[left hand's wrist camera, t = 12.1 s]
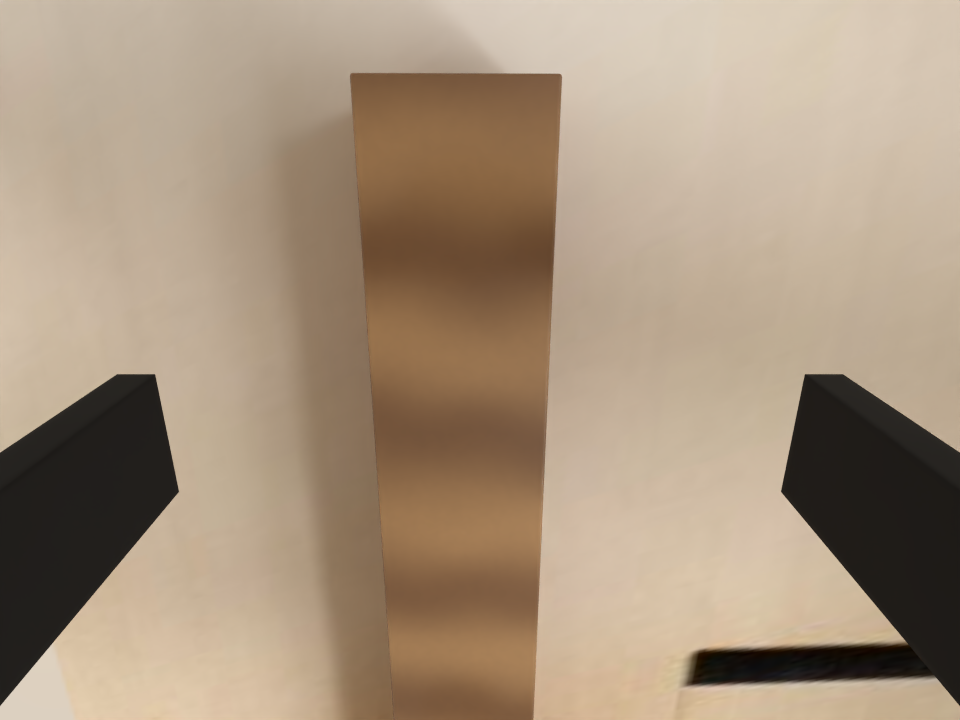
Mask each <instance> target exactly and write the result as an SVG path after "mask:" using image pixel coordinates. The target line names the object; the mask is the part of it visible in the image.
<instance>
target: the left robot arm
mask: <svg viewBox="0 0 960 720" xmlns="http://www.w3.org/2000/svg"><path fill="white" fill-rule="evenodd" d="M178 492H179V490H178V485H177V480H176V475H175V470H174V465H173V460H172V455H171V450H170V446H169V441H168V436H167V431H166V426H165V421H164V416H163V411H162V406H161V401H160V396H159V391H158V387H157V382H156V377H155V374H117V375H116V376H114V377H113V378H111V379H110V380H108V381H107V382H105V383H104V384H102V385H101V386H99V387H98V388H96V389H95V390H93V391H92V392H90V393H89V394H87V395H86V396H84V397H83V398H81V399H80V400H78V401H77V402H75V403H74V404H72V405H71V406H69V407H68V408H66V409H65V410H63V411H62V412H60V413H59V414H57V415H56V416H54V417H53V418H51V419H50V420H48V421H47V422H45V423H44V424H42V425H41V426H39V427H38V428H36V429H35V430H33V431H32V432H30V433H29V434H27V435H26V436H24V437H23V438H21V439H20V440H19V441H17V442H16V443H14V444H13V445H11V446H10V447H8V448H7V449H5V450H4V451H2V452H1V453H0V705H1V704H2V703H3V702H4V701H5V699H6V698H7V697H8V696H9V695H10V693H11V692H12V691H13V690H14V689H15V687H16V686H17V685H18V684H19V683H20V681H21V680H22V679H23V678H24V677H25V675H26V674H27V673H28V672H29V671H30V669H31V668H32V667H33V666H34V665H35V663H36V662H37V661H38V660H39V659H40V657H41V656H42V655H43V654H44V653H45V651H46V650H47V649H48V648H49V647H50V645H51V644H52V643H53V642H54V641H55V639H56V638H57V637H58V636H59V635H60V634H61V632H62V631H63V630H64V629H65V628H66V626H67V625H68V624H69V623H70V622H71V620H72V619H73V618H74V617H75V616H76V614H77V613H78V612H79V611H80V610H81V608H82V607H83V606H84V605H85V604H86V602H87V601H88V600H89V599H90V598H91V596H92V595H93V594H94V593H95V592H96V590H97V589H98V588H99V587H100V586H101V584H102V583H103V582H104V581H105V580H106V578H107V577H108V576H109V575H110V574H111V572H112V571H113V570H114V569H115V568H116V566H117V565H118V564H119V563H120V562H121V560H122V559H123V558H124V557H125V556H126V554H127V553H128V552H129V551H130V550H131V549H132V547H133V546H134V545H135V544H136V543H137V541H138V540H139V539H140V538H141V537H142V535H143V534H144V533H145V532H146V531H147V529H148V528H149V527H150V526H151V525H152V523H153V522H154V521H155V520H156V519H157V517H158V516H159V515H160V514H161V513H162V511H163V510H164V509H165V508H166V507H167V505H168V504H169V503H170V502H171V501H172V499H173V498H174V497H175V496H176V495H177V493H178ZM781 492H782V493H783V495H784V496H785V497H786V498H787V499H788V501H789V502H790V503H791V504H792V505H793V507H794V508H795V509H796V510H797V511H798V513H799V514H800V515H801V516H802V517H803V519H804V520H805V521H806V522H807V523H808V525H809V526H810V527H811V528H812V529H813V531H814V532H815V533H816V534H817V535H818V537H819V538H820V539H821V540H822V541H823V543H824V544H825V545H826V546H827V547H828V549H829V550H830V551H831V552H832V553H833V554H834V556H835V557H836V558H837V559H838V560H839V562H840V563H841V564H842V565H843V566H844V568H845V569H846V570H847V571H848V572H849V574H850V575H851V576H852V577H853V578H854V580H855V581H856V582H857V583H858V584H859V586H860V587H861V588H862V589H863V590H864V592H865V593H866V594H867V595H868V596H869V598H870V599H871V600H872V601H873V602H874V604H875V605H876V606H877V607H878V608H879V610H880V611H881V612H882V613H883V614H884V616H885V617H886V618H887V619H888V620H889V622H890V623H891V624H892V625H893V626H894V628H895V629H896V630H897V631H898V632H899V634H900V635H901V636H902V637H903V638H904V639H905V641H906V642H907V643H908V644H909V645H910V647H911V648H912V649H913V650H914V651H915V653H916V654H917V655H918V656H919V657H920V659H921V660H922V661H923V662H924V663H925V665H926V666H927V667H928V668H929V669H930V671H931V672H932V673H933V674H934V675H935V677H936V678H937V679H938V680H939V681H940V683H941V684H942V685H943V686H944V687H945V689H946V690H947V691H948V692H949V693H950V695H951V696H952V697H953V698H954V699H955V701H956V702H957V703H958V704H959V705H960V453H959V452H958V451H956V450H955V449H953V448H952V447H950V446H949V445H947V444H946V443H944V442H943V441H941V440H940V439H939V438H937V437H936V436H934V435H933V434H931V433H930V432H928V431H927V430H925V429H924V428H922V427H921V426H919V425H918V424H916V423H915V422H913V421H912V420H910V419H909V418H907V417H906V416H904V415H903V414H901V413H900V412H898V411H897V410H895V409H894V408H892V407H891V406H889V405H888V404H886V403H885V402H883V401H882V400H880V399H879V398H877V397H876V396H874V395H873V394H871V393H870V392H868V391H867V390H865V389H864V388H862V387H861V386H859V385H858V384H856V383H855V382H853V381H852V380H850V379H849V378H847V377H846V376H844V375H843V374H805V377H804V382H803V387H802V391H801V396H800V401H799V406H798V411H797V416H796V421H795V426H794V431H793V436H792V441H791V446H790V450H789V455H788V460H787V465H786V470H785V475H784V480H783V485H782V490H781Z"/></svg>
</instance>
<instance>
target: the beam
mask: <svg viewBox="0 0 960 720" xmlns="http://www.w3.org/2000/svg"><path fill="white" fill-rule="evenodd" d="M350 82H351V96H352V111H353V126H354V141H355V155H356V170H357V185H358V199H359V214H360V229H361V243H362V258H363V273H364V287H365V302H366V317H367V331H368V346H369V361H370V376H371V390H372V405H373V420H374V434H375V449H376V464H377V478H378V493H379V508H380V522H381V537H382V552H383V566H384V581H385V596H386V610H387V625H388V640H389V655H390V669H391V684H392V699H393V713H394V720H533V713H534V690H535V668H536V645H537V623H538V601H539V578H540V556H541V534H542V511H543V489H544V466H545V444H546V422H547V399H548V377H549V354H550V332H551V310H552V287H553V265H554V243H555V220H556V198H557V175H558V153H559V131H560V108H561V86H562V76H561V74H479V73H352V74H351V75H350Z"/></svg>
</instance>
